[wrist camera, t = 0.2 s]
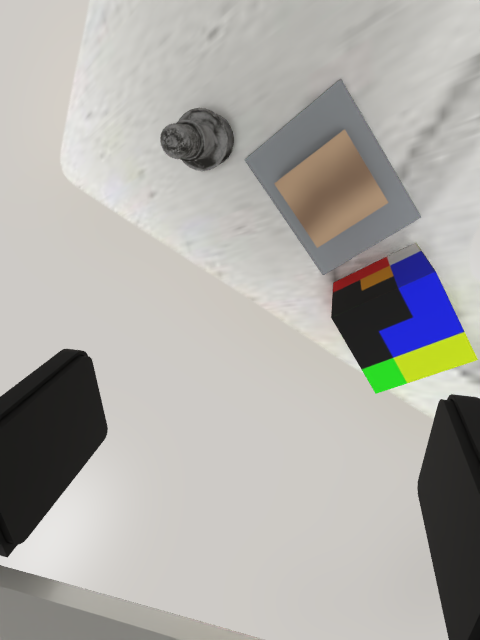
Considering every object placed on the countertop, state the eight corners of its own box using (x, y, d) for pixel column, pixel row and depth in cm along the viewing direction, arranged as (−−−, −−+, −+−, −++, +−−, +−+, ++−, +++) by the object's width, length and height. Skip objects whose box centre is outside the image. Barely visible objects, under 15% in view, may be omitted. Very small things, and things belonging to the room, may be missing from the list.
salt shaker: (207, 97, 40) (160, 83, 29) (247, 138, 41) (214, 139, 30) (176, 141, 43) (123, 144, 32) (213, 179, 44) (173, 193, 33)
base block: (279, 179, 41) (274, 183, 38) (344, 129, 38) (344, 129, 34) (319, 238, 43) (317, 247, 40) (384, 196, 39) (388, 202, 36)
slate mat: (245, 159, 42) (244, 159, 41) (340, 79, 36) (340, 78, 36) (323, 273, 45) (323, 275, 45) (420, 216, 40) (421, 217, 39)
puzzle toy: (415, 242, 41) (435, 271, 33) (451, 315, 44) (477, 359, 35) (333, 282, 46) (331, 317, 37) (369, 346, 48) (375, 393, 39)
